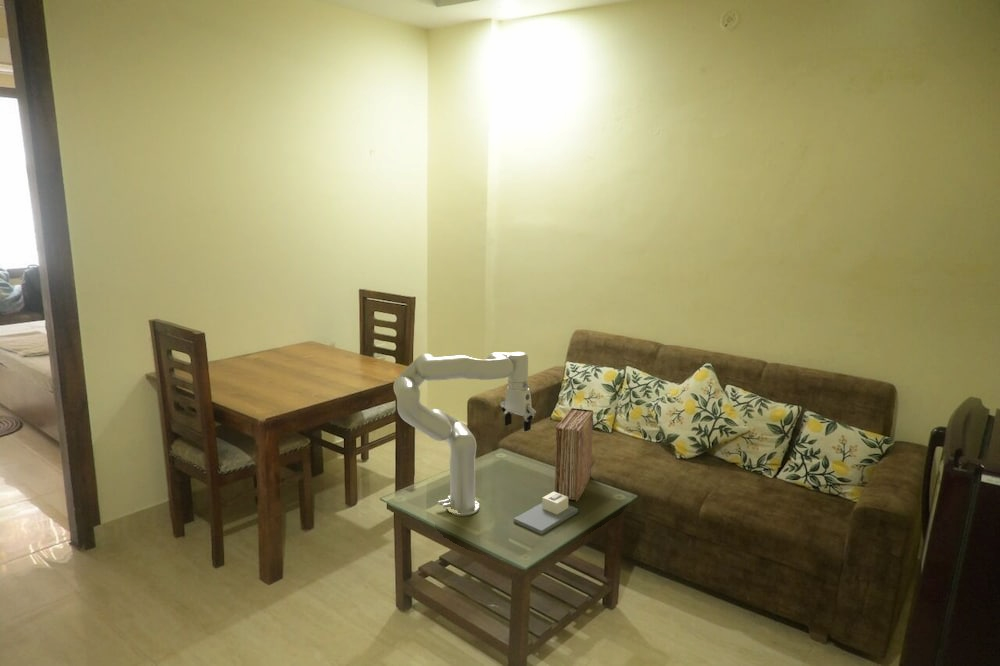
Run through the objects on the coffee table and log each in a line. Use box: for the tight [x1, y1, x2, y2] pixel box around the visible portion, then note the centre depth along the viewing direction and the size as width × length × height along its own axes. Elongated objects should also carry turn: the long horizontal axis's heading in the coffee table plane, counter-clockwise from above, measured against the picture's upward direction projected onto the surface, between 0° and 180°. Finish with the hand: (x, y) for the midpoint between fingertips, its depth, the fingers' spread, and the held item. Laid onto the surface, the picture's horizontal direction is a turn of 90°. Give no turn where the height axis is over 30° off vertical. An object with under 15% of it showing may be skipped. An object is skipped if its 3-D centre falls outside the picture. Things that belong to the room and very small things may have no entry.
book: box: [554, 407, 594, 503], centre depth 251 cm, size 25×9×30 cm, turn 159°
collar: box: [541, 490, 569, 514], centre depth 233 cm, size 7×7×4 cm
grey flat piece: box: [513, 494, 579, 536], centre depth 229 cm, size 22×13×6 cm, turn 138°
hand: (517, 427), depth 237 cm, fingers open, 9 cm apart
